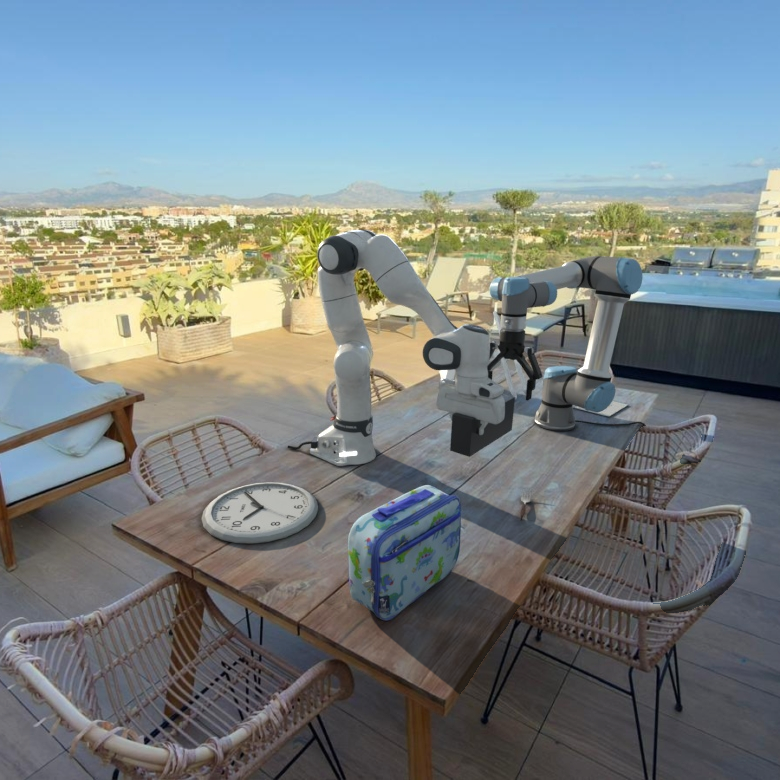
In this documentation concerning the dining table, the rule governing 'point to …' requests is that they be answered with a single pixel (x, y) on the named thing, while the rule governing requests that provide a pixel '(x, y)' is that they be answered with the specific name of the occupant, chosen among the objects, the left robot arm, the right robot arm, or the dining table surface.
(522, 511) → the fork
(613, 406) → the invitation card
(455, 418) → the box
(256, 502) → the wall clock
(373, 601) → the lunch box
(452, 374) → the white plastic object
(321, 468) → the dining table surface
